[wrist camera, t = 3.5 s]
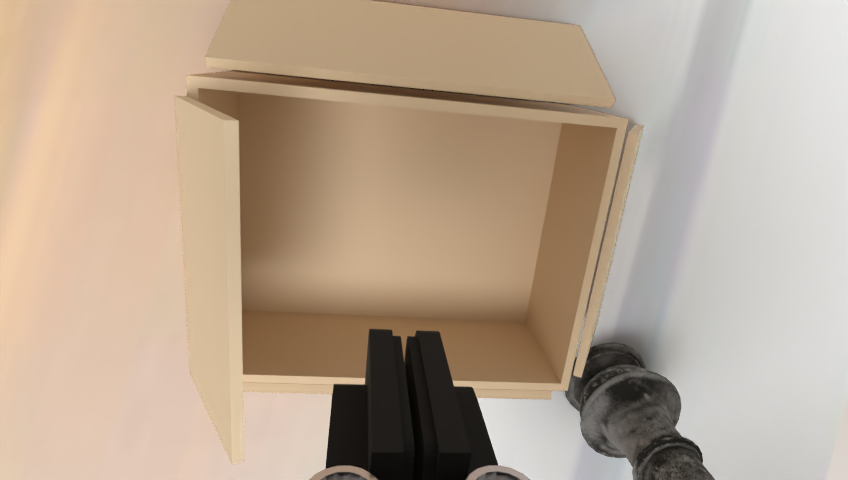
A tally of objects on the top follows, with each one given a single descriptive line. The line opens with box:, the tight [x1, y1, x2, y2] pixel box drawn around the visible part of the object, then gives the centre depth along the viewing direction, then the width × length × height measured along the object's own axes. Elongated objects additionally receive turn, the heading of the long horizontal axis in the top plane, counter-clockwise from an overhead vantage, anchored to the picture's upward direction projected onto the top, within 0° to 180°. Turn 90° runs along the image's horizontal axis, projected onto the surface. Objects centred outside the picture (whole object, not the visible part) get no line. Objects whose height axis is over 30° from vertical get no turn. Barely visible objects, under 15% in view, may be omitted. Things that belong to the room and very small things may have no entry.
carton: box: [186, 0, 643, 399], centre depth 25 cm, size 20×20×6 cm
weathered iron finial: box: [565, 343, 715, 480], centre depth 27 cm, size 6×6×12 cm
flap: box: [175, 96, 244, 465], centre depth 18 cm, size 1×11×6 cm, turn 175°
